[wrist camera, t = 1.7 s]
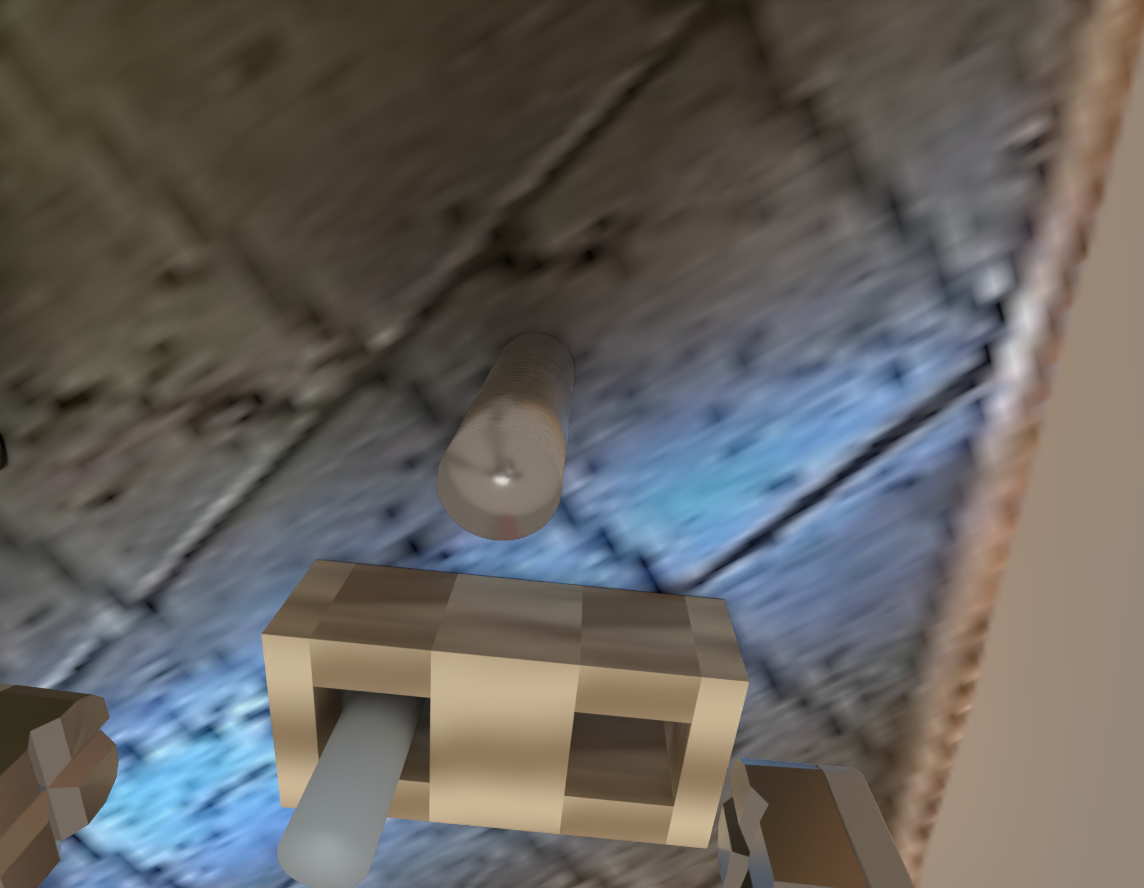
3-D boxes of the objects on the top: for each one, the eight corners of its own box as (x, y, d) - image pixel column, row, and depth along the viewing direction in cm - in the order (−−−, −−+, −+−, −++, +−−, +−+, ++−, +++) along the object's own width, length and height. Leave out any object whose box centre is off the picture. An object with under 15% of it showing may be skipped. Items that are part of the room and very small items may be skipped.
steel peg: (498, 328, 24) (437, 421, 15) (578, 336, 24) (567, 434, 15) (494, 404, 25) (436, 534, 16) (570, 411, 25) (556, 546, 16)
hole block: (316, 559, 28) (261, 633, 24) (724, 599, 28) (749, 682, 24) (327, 715, 32) (281, 807, 27) (690, 750, 32) (707, 848, 27)
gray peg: (374, 620, 29) (273, 822, 20) (440, 627, 29) (368, 832, 20) (376, 672, 31) (280, 886, 21) (439, 678, 31) (371, 895, 21)
